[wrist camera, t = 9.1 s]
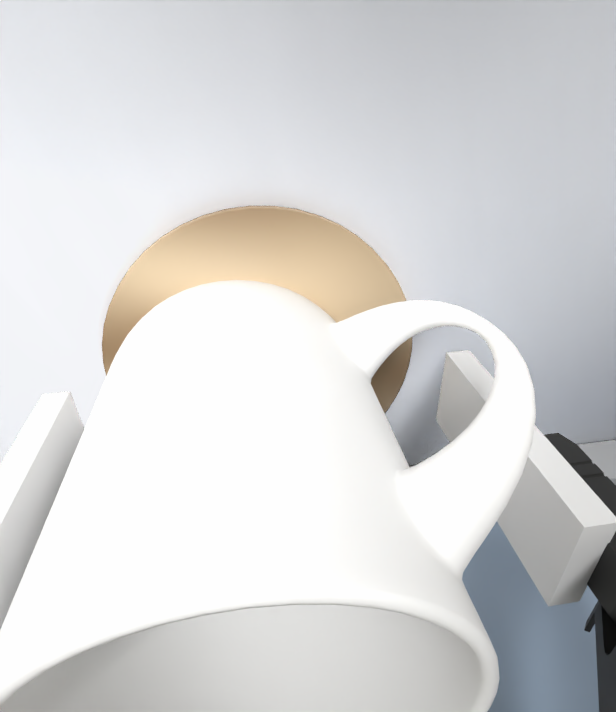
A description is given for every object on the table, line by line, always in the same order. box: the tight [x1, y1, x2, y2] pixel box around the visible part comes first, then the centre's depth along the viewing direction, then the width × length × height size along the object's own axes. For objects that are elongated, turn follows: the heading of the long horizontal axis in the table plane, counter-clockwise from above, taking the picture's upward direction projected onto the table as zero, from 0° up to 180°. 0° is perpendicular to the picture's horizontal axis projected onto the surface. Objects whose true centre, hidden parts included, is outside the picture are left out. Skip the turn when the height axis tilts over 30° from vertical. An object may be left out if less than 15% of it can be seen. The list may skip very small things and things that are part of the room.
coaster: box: [102, 206, 412, 413], centre depth 16 cm, size 11×11×1 cm
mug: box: [0, 280, 536, 712], centre depth 12 cm, size 9×12×11 cm
